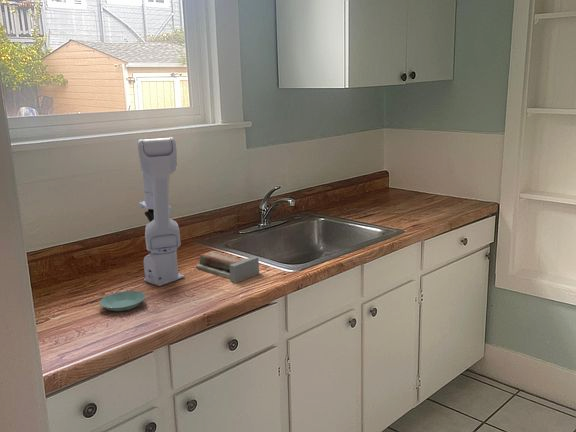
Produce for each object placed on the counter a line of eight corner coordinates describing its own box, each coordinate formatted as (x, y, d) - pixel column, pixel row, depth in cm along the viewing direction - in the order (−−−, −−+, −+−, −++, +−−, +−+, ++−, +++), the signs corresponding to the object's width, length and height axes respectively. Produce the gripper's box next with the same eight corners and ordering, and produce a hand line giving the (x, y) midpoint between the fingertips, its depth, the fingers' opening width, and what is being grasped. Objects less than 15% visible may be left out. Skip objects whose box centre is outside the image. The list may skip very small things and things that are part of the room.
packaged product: (193, 254, 183) (217, 247, 190) (194, 269, 184) (218, 261, 191) (231, 265, 171) (256, 257, 178) (232, 281, 172) (256, 272, 179)
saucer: (94, 316, 150) (93, 308, 150) (109, 298, 162) (108, 291, 161) (139, 315, 150) (138, 306, 149) (151, 297, 161) (150, 289, 161)
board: (235, 282, 170) (234, 266, 169) (230, 281, 171) (229, 265, 170) (259, 273, 177) (258, 257, 176) (254, 271, 178) (253, 256, 177)
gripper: (177, 191, 183) (181, 232, 186) (150, 186, 192) (154, 226, 195) (159, 195, 178) (163, 238, 181) (132, 190, 187) (136, 230, 190)
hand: (157, 232), depth 188 cm, fingers closed
